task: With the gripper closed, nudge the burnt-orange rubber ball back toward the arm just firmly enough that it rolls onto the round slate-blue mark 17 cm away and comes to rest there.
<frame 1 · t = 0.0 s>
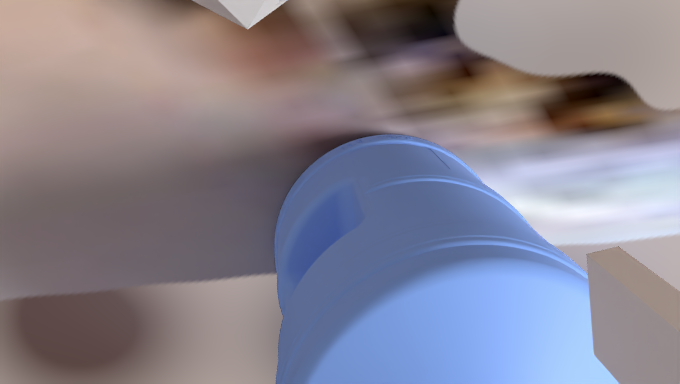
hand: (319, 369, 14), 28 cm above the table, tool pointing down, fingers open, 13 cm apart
water jug: (382, 235, 44), on the table
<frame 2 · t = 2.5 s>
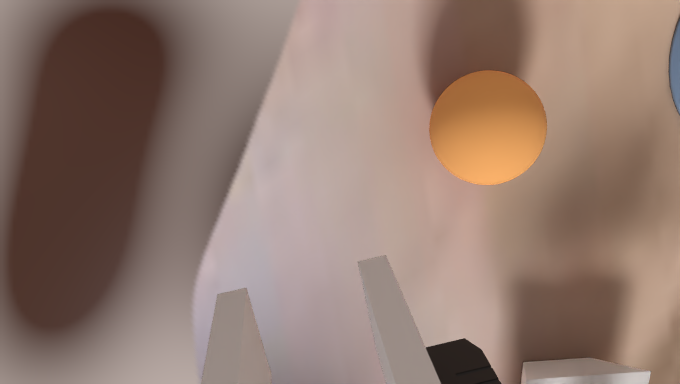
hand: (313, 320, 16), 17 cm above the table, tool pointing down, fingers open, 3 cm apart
ball: (486, 128, 29), on the table
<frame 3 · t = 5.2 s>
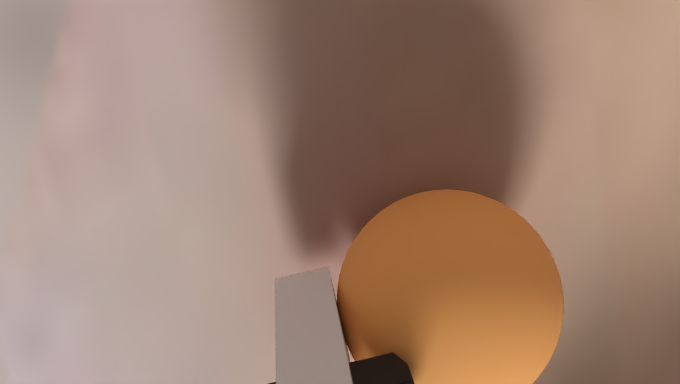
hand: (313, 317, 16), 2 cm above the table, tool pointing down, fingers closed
ball: (446, 298, 15), on the table, touching gripper
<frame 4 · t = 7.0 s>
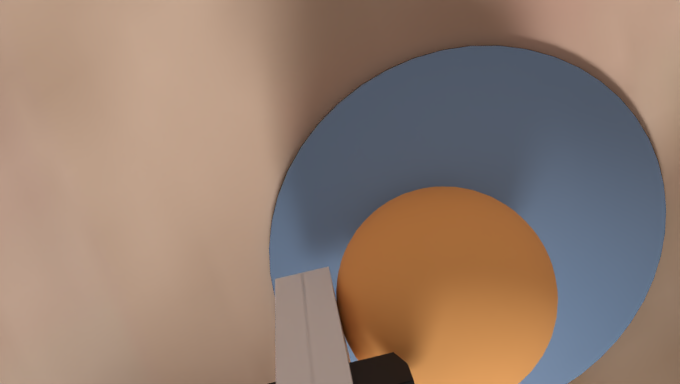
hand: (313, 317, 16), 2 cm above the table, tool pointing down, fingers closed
ball: (443, 293, 15), on the table, touching gripper
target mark: (470, 249, 18), on the table
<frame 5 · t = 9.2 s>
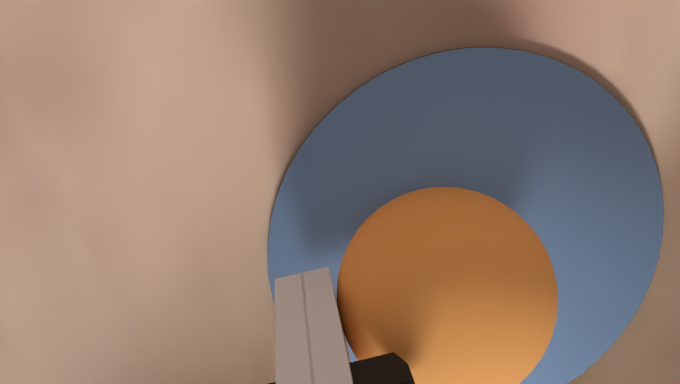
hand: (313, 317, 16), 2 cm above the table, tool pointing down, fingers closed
ball: (443, 294, 15), on the table, touching gripper
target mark: (468, 251, 18), on the table
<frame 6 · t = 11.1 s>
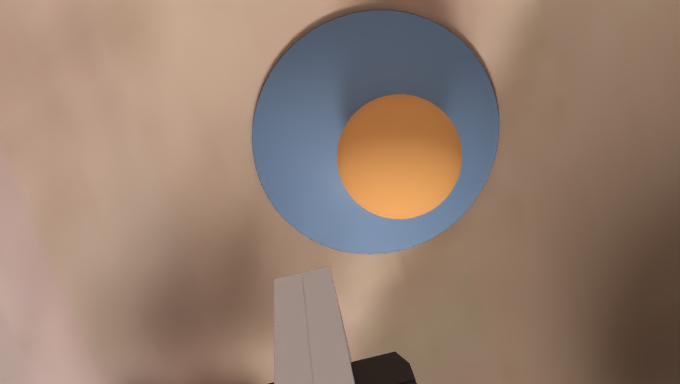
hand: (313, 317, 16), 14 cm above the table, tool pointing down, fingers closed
ball: (398, 157, 27), on the table
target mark: (377, 139, 29), on the table
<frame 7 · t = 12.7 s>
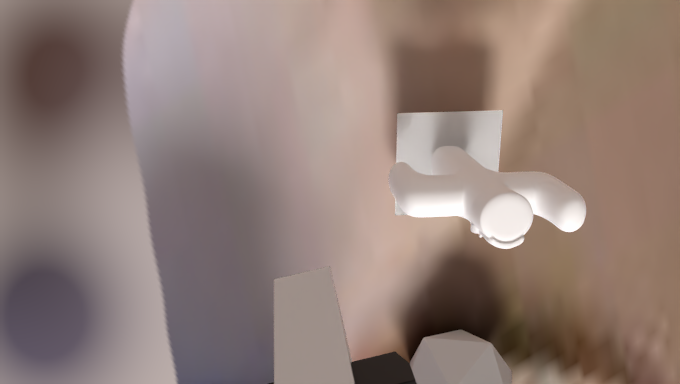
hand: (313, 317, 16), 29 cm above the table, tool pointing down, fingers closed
figurine: (434, 149, 45), on the table
die: (443, 356, 51), on the table
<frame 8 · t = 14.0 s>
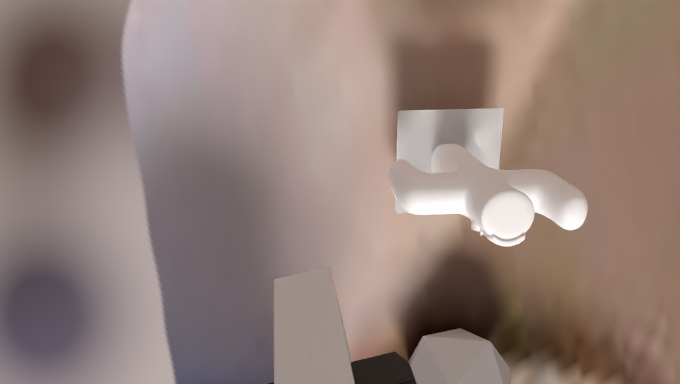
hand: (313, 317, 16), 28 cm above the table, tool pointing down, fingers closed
figurine: (434, 147, 45), on the table
die: (442, 354, 51), on the table
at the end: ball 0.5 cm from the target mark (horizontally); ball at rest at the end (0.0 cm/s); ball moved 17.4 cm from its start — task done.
